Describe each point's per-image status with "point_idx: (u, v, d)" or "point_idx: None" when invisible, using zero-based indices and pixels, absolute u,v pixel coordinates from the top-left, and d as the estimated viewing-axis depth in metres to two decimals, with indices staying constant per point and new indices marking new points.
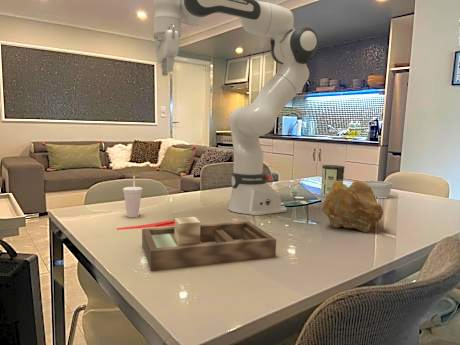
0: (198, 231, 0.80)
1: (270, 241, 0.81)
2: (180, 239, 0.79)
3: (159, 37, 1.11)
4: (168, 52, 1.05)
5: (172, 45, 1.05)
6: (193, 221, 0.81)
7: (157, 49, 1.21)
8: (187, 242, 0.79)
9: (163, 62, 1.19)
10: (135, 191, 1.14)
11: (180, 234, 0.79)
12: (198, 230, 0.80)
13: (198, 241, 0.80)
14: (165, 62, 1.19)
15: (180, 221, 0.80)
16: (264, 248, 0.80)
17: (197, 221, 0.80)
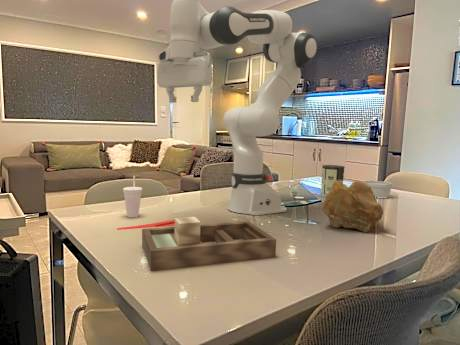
0: (198, 231, 0.80)
1: (270, 241, 0.81)
2: (180, 239, 0.79)
3: (180, 62, 0.99)
4: (204, 82, 0.96)
5: (208, 75, 0.96)
6: (193, 221, 0.81)
7: (160, 71, 1.05)
8: (187, 242, 0.79)
9: (170, 87, 1.06)
10: (135, 191, 1.14)
11: (180, 234, 0.79)
12: (198, 230, 0.80)
13: (198, 241, 0.80)
14: (172, 87, 1.06)
15: (180, 221, 0.80)
16: (264, 248, 0.80)
17: (197, 221, 0.80)
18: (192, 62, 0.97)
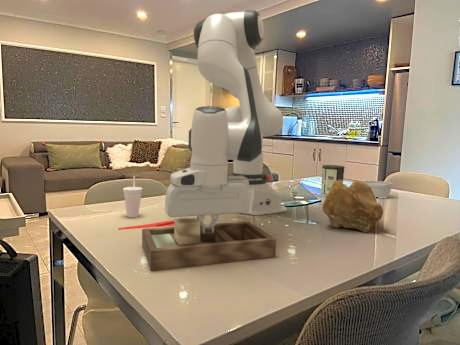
0: (198, 231, 0.80)
1: (270, 241, 0.81)
2: (180, 239, 0.79)
3: (217, 189, 0.80)
4: (246, 211, 0.85)
5: None
6: (193, 221, 0.81)
7: (176, 198, 0.77)
8: (187, 242, 0.79)
9: None
10: (135, 191, 1.14)
11: (180, 234, 0.79)
12: (198, 230, 0.80)
13: (198, 241, 0.80)
14: None
15: (179, 221, 0.80)
16: (264, 248, 0.80)
17: (197, 221, 0.80)
18: (231, 189, 0.82)
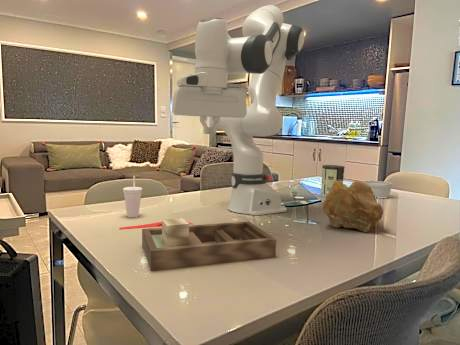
0: (187, 233, 0.78)
1: (270, 241, 0.81)
2: (168, 241, 0.77)
3: (218, 91, 0.90)
4: (244, 116, 0.95)
5: None
6: (182, 222, 0.79)
7: (182, 97, 0.88)
8: (176, 244, 0.78)
9: None
10: (135, 191, 1.14)
11: (168, 236, 0.77)
12: (187, 232, 0.78)
13: (187, 243, 0.79)
14: None
15: (168, 223, 0.78)
16: (264, 248, 0.80)
17: (185, 223, 0.79)
18: (231, 94, 0.93)
